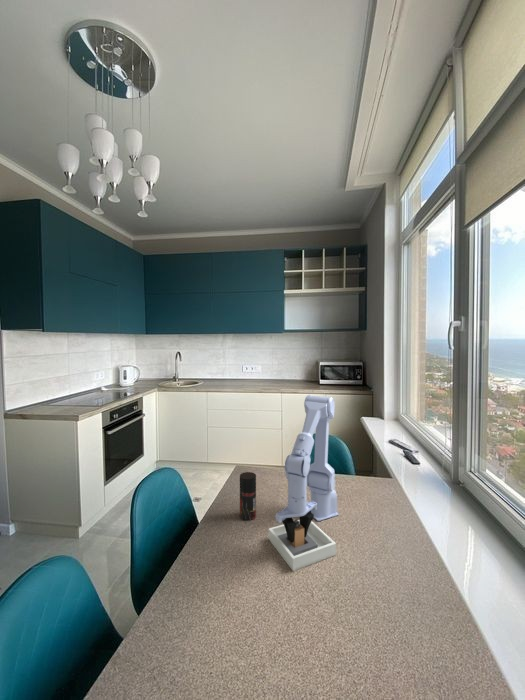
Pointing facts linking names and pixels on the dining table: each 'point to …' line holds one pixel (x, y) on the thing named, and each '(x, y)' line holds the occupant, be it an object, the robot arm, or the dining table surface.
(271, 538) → the walled box
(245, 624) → the dining table surface
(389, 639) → the dining table surface
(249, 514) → the deodorant
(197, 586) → the dining table surface
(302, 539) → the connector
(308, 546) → the inlet socket
